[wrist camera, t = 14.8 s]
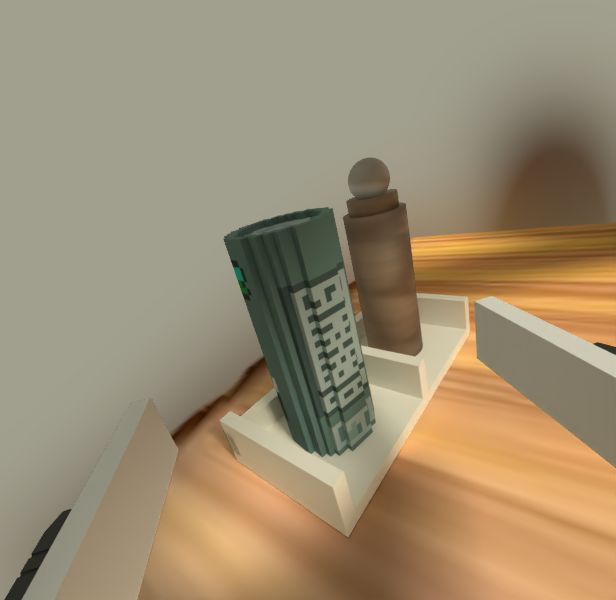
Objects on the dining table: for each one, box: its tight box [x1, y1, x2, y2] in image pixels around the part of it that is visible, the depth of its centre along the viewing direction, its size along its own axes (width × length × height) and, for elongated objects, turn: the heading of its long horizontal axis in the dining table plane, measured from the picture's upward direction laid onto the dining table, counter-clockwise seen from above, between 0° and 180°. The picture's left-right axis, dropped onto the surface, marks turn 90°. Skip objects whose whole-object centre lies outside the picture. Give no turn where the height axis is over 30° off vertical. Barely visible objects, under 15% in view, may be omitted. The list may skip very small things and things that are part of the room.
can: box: [224, 208, 376, 458], centre depth 21 cm, size 6×6×15 cm
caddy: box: [219, 293, 470, 537], centre depth 27 cm, size 22×10×4 cm, turn 140°
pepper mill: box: [343, 158, 423, 356], centre depth 28 cm, size 5×5×17 cm
